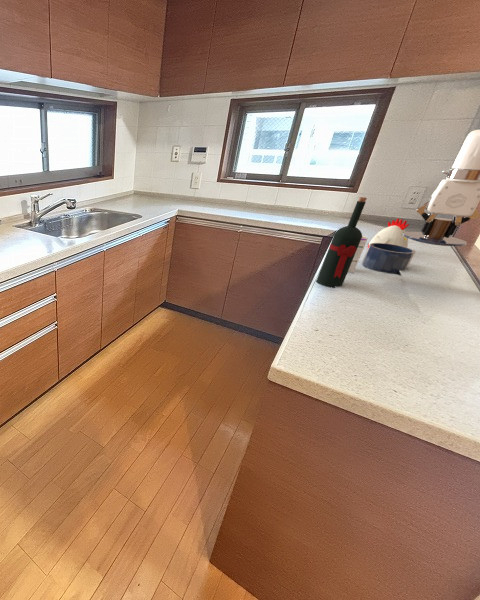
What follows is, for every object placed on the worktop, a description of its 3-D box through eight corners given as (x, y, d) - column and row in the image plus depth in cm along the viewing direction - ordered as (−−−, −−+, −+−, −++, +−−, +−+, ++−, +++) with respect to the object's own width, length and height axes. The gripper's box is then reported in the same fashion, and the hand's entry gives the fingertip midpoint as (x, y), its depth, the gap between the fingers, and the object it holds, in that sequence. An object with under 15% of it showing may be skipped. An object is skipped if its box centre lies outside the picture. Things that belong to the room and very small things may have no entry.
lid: (456, 240, 108) (468, 218, 104) (471, 251, 97) (485, 227, 93) (398, 232, 115) (408, 212, 112) (406, 242, 104) (416, 219, 101)
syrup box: (353, 273, 126) (369, 237, 119) (337, 272, 127) (351, 236, 120) (345, 268, 131) (360, 233, 125) (329, 267, 132) (343, 232, 125)
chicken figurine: (389, 255, 148) (404, 222, 141) (360, 246, 160) (373, 216, 153) (412, 254, 150) (428, 222, 144) (382, 245, 162) (396, 215, 156)
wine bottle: (318, 287, 113) (352, 199, 100) (314, 277, 121) (345, 194, 108) (346, 292, 110) (385, 201, 97) (339, 281, 118) (374, 197, 105)
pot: (400, 265, 136) (410, 245, 133) (408, 278, 122) (419, 257, 119) (360, 258, 143) (368, 239, 140) (363, 270, 129) (372, 250, 126)
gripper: (430, 174, 98) (402, 233, 106) (513, 179, 90) (476, 242, 98) (424, 173, 104) (398, 229, 112) (502, 176, 95) (468, 237, 104)
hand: (435, 235), depth 105 cm, fingers closed on lid, 4 cm apart
